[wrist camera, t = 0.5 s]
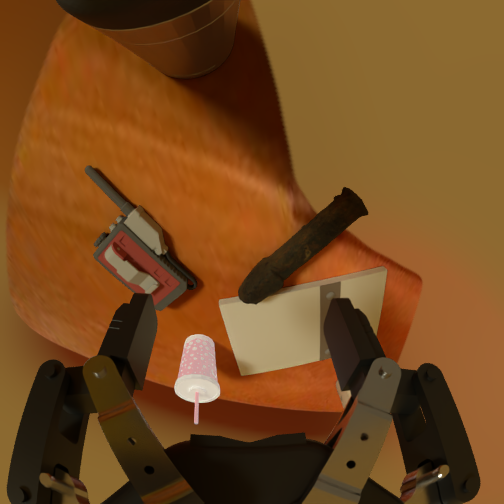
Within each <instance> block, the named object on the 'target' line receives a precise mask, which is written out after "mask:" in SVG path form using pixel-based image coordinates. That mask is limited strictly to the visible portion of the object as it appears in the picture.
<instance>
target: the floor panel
mask: <svg viewBox="0 0 504 504" xmlns="http://www.w3.org/2000/svg"><path fill="white" fill-rule="evenodd" d="M386 276H387V269H386V268H385V267H384V266H381V267H377V268H373V269H368V270H364V271H360V272H356V273H351V274H347V275H342V276H338V277H333V278H329V279H324V280H320V281H315V282H310V283H305V284H301V285H296V286H291V287H286V288H281V289H280V290H278V291H277V292H276V293H274V294H272V295H270V296H268V297H267V298H265V299H264V300H262V301H261V302H259V303H258V304H256V305H255V304H246V303H243V302H242V301H241V300H240V299H239V296H238V297H232V298H227V299H221V300H219V307H220V310H221V313H222V317H223V320H224V323H225V327H226V330H227V333H228V336H229V339H230V343H231V346H232V349H233V352H234V355H235V358H236V361H237V364H238V367H239V370H240V373H241V376H244V375H250V374H256V373H262V372H268V371H273V370H278V369H283V368H288V367H293V366H297V365H302V364H306V363H310V362H315V361H319V360H320V361H321V360H325V359H328V358H331V355H330V352H329V348H328V345H327V342H326V339H325V336H324V330H323V327H324V321H325V318H326V315H327V312H328V309H329V305H330V302H331V300H332V299H333V298H349V299H350V300H351V303H352V305H353V307H354V309H356V308H359V309H360V310H361V311H362V312H363V313H364V314H365V315H366V316H367V318H368V320H369V322H370V326H372V329H373V331H374V333H375V335H377V331H378V326H379V320H380V315H381V309H382V304H383V297H384V291H385V284H386Z"/></svg>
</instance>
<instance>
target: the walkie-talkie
mask: <svg viewBox="0 0 504 504" xmlns="http://www.w3.org/2000/svg"><path fill="white" fill-rule="evenodd" d="M85 173H86V174H87V175H88V176H89V177H90V178H91V179H92V180H93V181H94V182H95V183H96V184H97V185H98V186H99V187H100V188H101V189H102V190H103V191H104V193H105V194H106V195H107V196H108V197H109V198H110V199H111V200H112V201H113V202H114V203H115V204H116V205H117V206H118V207H119V208H120V209H121V211H122V212H123V213H124V214H125V215H126V216H127V217H124V216H123V217H124V218H123V217H122V216H121V215H120V216H119V217H118V218H117V219H116V221H117V222H118V223H117V224H118V225H117V224H116V225H115V224H114V223H112V225H111V226H110V227H109V229H110V230H111V231H112V232H111V233H110V234H109V236H108V237H106V233H105V232H103V233H102V234H101V235H100V237H99V238H98V239H97V240H96V242H95V243H94V246H95V247H97V246H98V247H99V248H98V249H97V250H96V252H95V253H94V254H93V256H94V258H95V259H96V260H97V261H98V262H99V263H100V264H101V265H102V266H103V267H104V268H105V269H107V270H108V271H109V272H110V273H111V274H112V275H113V276H114V277H116V278H117V279H118V280H119V281H121V282H122V283H123V284H124V285H125V286H127V287H128V289H130V290H131V291H132V292H134V293H147V294H151V295H152V297H153V302H154V307H155V310H159V311H161V310H163V309H164V308H165V307H167V306H168V305H169V304H170V303H171V302H173V301H174V300H175V299H176V298H178V297H179V296H180V295H181V294H182V293H184V292H185V290H186V289H189V290H193V289H195V288H196V287H197V281H196V279H195V278H194V277H193V276H192V275H191V274H190V273H188V272H187V271H186V270H185V269H184V268H183V267H182V266H181V265H180V264H178V263H177V262H176V261H175V260H174V259H173V258H172V257H171V255H170V252H169V251H168V247H167V246H166V245H165V242H164V237H163V232H162V228H161V227H160V226H159V225H158V224H157V223H156V222H155V221H154V220H153V219H152V218H151V217H150V216H149V215H148V214H147V213H146V212H145V211H144V209H143V208H142V207H141V206H140V205H139V206H138V207H137V208H136V209H135V208H134V207H133V206H132V205H131V204H130V203H129V202H126V201H125V200H124V199H123V198H122V197H121V196H120V195H119V194H118V193H117V192H116V191H115V190H114V189H113V188H112V187H111V186H110V185H109V184H108V183H107V182H106V181H105V180H104V179H103V178H102V177H101V176H100V175H99V174H98V173H97V172H96V171H95V170H94V169H93V168H92V167H91V166H87V167H86V168H85ZM188 279H190V280H191V281H192V282H193V283H194V284H193V285H189V284H188Z"/></svg>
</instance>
